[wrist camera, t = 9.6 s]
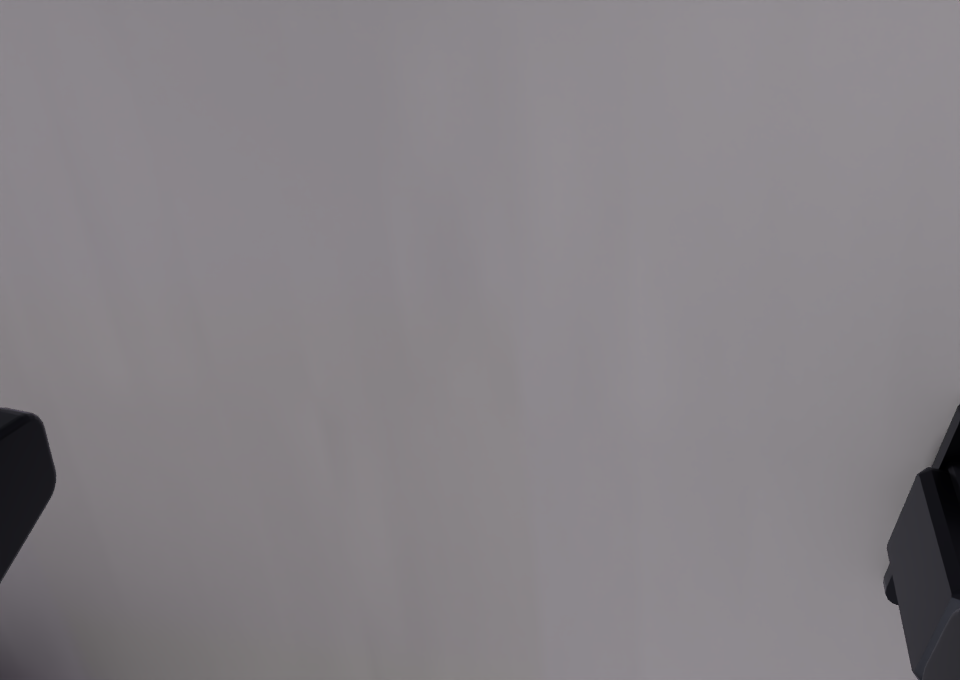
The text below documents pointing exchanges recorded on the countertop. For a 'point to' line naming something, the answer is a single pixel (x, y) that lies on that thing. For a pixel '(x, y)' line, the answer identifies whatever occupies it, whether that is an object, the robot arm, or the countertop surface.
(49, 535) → the countertop surface
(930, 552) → the robot arm
